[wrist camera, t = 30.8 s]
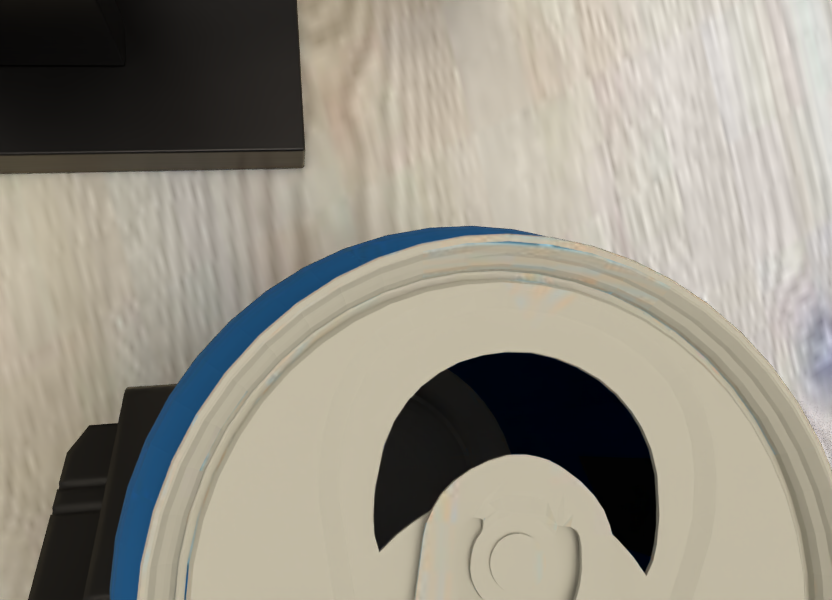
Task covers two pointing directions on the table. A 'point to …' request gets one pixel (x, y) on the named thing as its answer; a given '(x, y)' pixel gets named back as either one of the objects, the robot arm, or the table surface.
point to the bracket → (149, 85)
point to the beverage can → (474, 438)
